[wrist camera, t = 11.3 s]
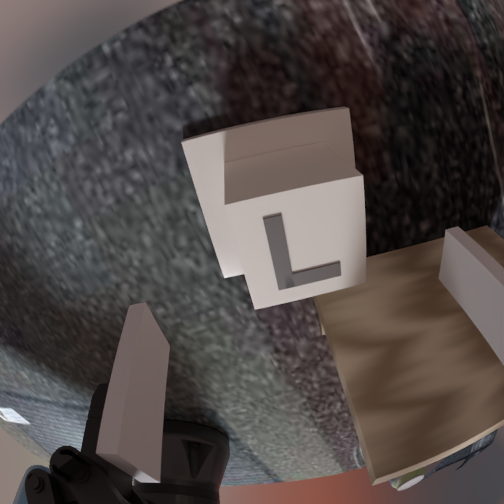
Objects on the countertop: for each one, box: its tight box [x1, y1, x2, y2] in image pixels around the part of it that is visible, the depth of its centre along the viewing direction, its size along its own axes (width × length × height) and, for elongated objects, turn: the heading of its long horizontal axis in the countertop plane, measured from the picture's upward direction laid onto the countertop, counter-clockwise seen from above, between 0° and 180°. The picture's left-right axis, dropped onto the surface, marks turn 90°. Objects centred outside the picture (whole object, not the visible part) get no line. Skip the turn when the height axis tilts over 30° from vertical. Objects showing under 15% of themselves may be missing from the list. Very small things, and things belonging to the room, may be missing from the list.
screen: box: [312, 225, 504, 485], centre depth 18 cm, size 18×6×16 cm, turn 102°
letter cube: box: [224, 142, 366, 310], centre depth 17 cm, size 6×6×6 cm
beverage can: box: [389, 467, 424, 491], centre depth 40 cm, size 6×7×12 cm
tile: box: [181, 107, 356, 278], centre depth 20 cm, size 10×10×1 cm
